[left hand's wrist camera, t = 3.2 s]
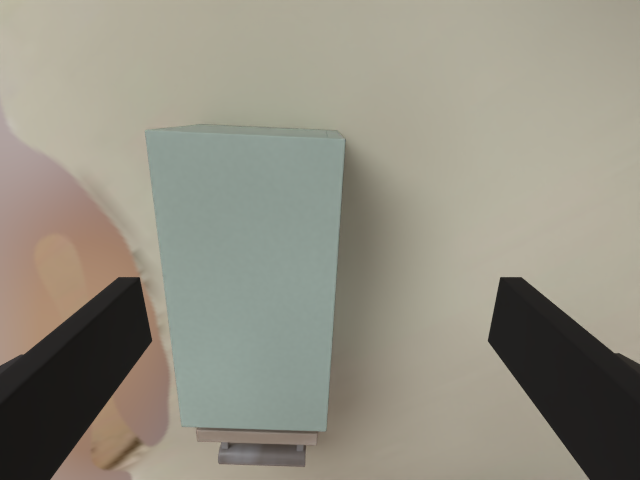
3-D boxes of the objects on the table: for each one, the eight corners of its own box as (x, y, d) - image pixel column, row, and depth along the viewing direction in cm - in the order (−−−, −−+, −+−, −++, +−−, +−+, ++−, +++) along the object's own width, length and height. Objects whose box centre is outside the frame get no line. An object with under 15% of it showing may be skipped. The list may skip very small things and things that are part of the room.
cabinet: (324, 353, 34) (326, 431, 26) (215, 349, 34) (181, 427, 25) (337, 130, 27) (345, 139, 18) (199, 124, 27) (144, 129, 18)
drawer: (315, 423, 36) (314, 492, 29) (223, 420, 36) (202, 489, 29) (327, 182, 27) (330, 204, 21) (206, 177, 27) (170, 197, 20)
